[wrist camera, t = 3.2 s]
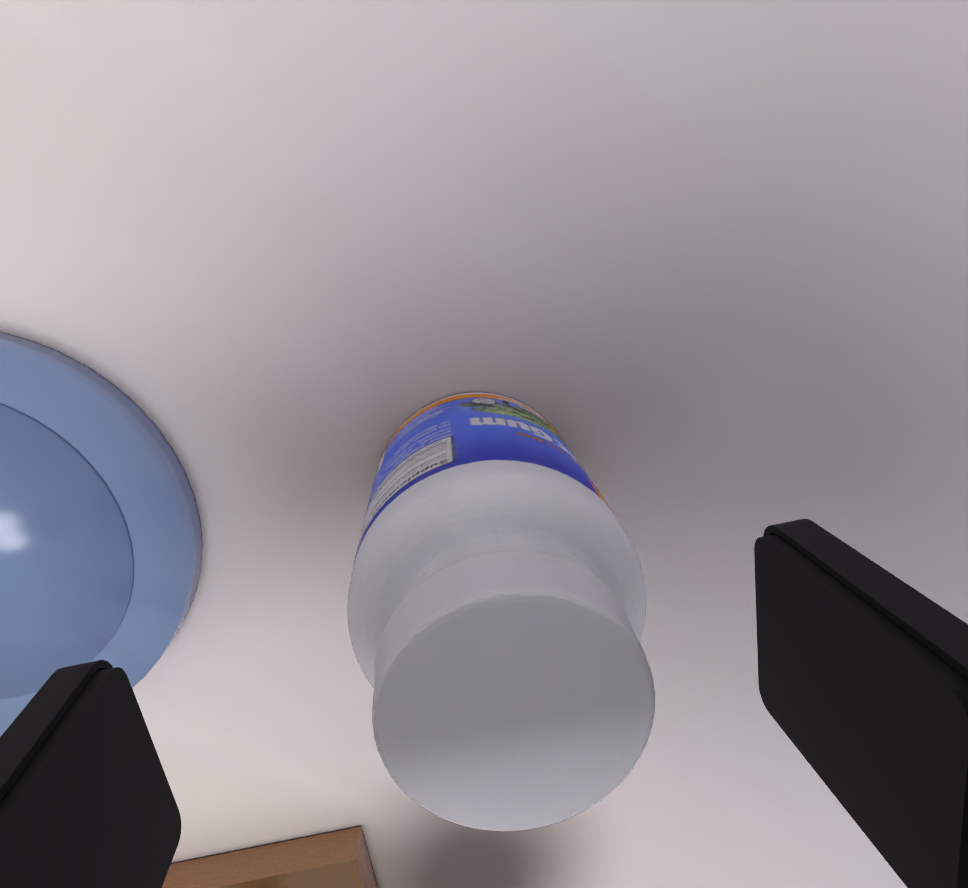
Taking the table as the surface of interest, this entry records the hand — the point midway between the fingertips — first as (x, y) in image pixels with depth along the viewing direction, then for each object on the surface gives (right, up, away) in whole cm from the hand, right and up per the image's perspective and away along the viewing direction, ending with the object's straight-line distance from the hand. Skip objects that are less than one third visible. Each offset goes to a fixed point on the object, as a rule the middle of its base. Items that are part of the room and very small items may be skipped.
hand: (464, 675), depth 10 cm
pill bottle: (0, +2, +9) cm, 9 cm away
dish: (-13, +1, +8) cm, 15 cm away
